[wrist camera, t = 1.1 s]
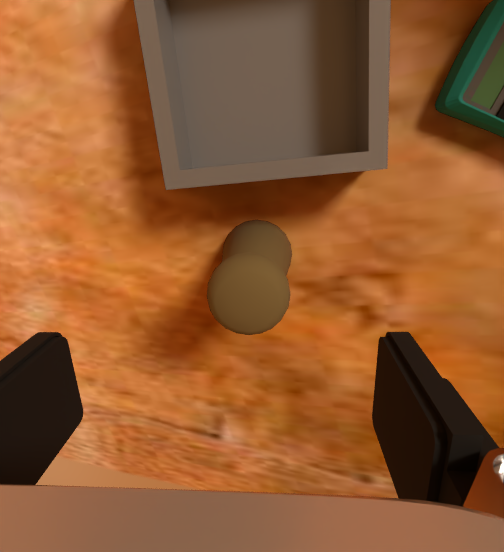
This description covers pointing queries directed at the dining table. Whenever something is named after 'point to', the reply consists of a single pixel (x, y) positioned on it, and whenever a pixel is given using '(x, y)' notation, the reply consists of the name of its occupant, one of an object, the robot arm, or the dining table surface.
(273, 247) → the tan piece
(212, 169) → the gray square tray
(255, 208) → the dining table surface
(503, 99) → the digital multimeter
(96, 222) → the dining table surface
